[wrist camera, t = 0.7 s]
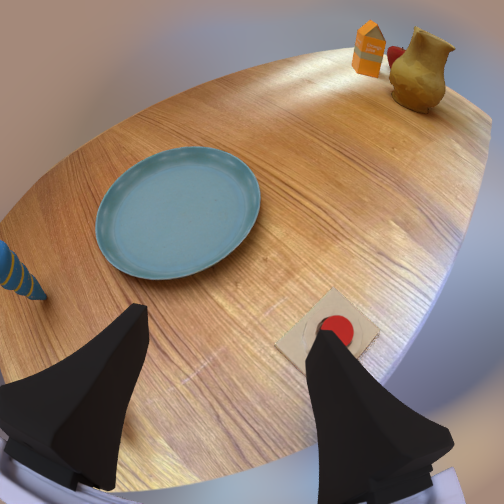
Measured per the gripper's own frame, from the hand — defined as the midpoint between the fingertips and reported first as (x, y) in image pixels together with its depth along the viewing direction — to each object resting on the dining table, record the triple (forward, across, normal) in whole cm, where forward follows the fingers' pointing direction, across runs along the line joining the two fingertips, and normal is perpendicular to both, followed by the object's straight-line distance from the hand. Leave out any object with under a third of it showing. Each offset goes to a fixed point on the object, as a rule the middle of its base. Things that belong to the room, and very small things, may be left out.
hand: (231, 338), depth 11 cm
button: (+12, -12, +10) cm, 20 cm away
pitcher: (+65, -46, -29) cm, 85 cm away
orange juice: (+82, -35, -38) cm, 97 cm away
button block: (+14, -12, +12) cm, 22 cm away
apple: (+88, -50, -45) cm, 111 cm away
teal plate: (+30, +8, +6) cm, 31 cm away
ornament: (+18, +27, +18) cm, 37 cm away
